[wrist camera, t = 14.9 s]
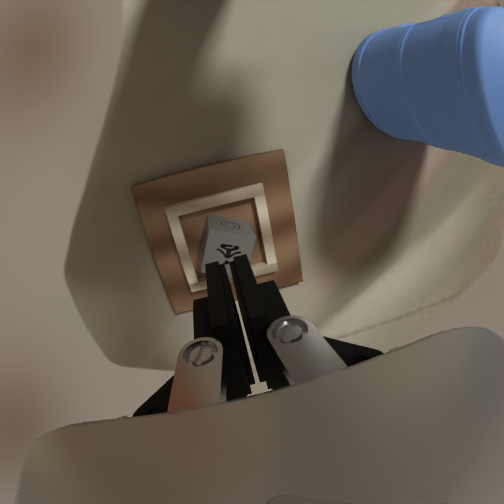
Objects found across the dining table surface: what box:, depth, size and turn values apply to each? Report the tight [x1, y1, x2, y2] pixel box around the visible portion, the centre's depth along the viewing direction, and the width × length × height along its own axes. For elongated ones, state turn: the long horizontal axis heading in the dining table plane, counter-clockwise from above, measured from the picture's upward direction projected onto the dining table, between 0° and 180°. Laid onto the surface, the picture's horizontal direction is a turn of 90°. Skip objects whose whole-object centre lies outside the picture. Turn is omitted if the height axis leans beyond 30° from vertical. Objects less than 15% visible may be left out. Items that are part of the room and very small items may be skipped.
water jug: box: [352, 6, 504, 167], centre depth 20 cm, size 16×16×28 cm
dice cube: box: [200, 214, 256, 276], centre depth 35 cm, size 5×5×5 cm
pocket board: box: [131, 149, 303, 313], centre depth 37 cm, size 18×18×2 cm
